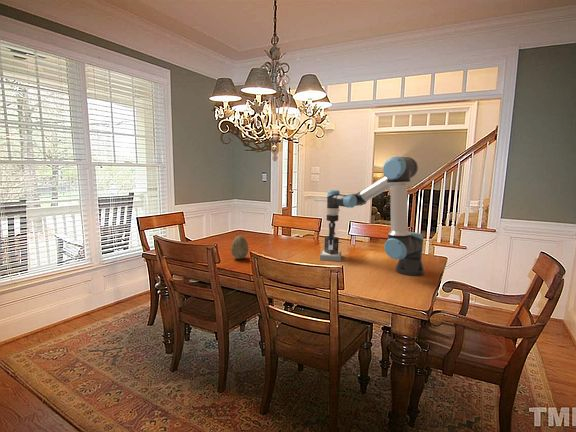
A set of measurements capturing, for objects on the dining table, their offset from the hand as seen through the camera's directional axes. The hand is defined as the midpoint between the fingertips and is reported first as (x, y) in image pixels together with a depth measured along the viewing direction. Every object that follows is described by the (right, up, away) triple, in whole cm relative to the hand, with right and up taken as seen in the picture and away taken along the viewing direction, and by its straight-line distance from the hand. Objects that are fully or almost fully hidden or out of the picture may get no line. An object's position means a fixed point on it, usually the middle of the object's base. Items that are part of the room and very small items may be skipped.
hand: (331, 247), depth 215 cm
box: (0, -4, +1) cm, 4 cm away
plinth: (0, -7, +1) cm, 7 cm away
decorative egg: (-58, -7, -5) cm, 59 cm away
